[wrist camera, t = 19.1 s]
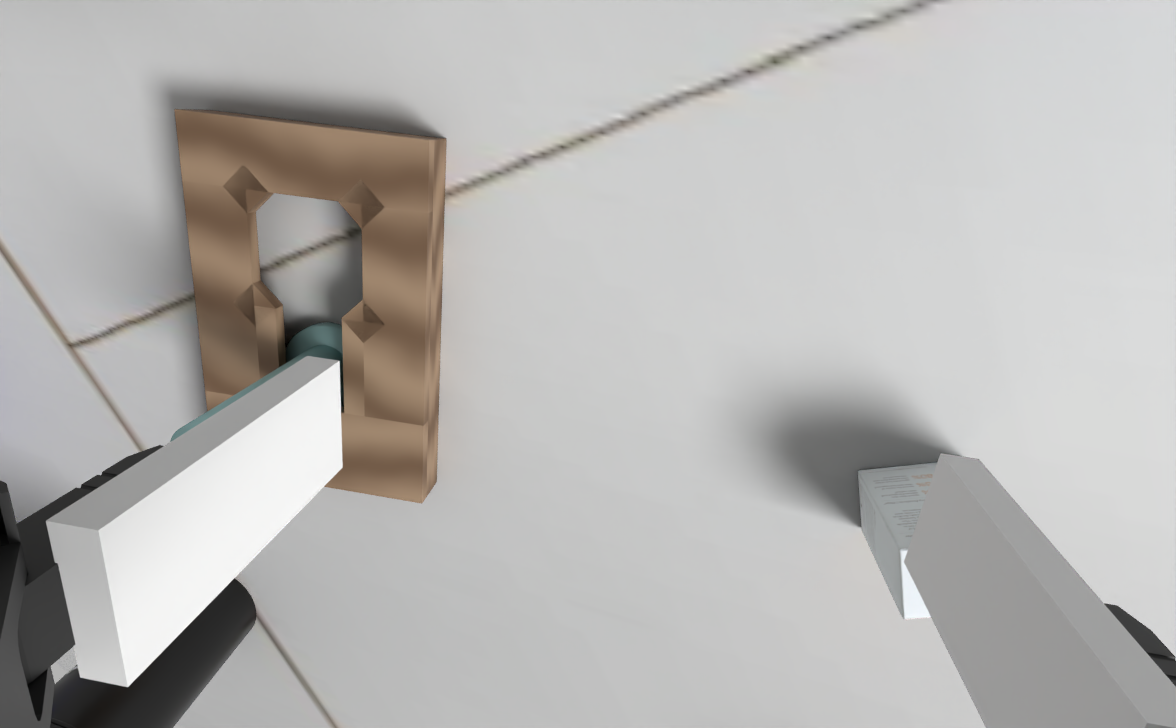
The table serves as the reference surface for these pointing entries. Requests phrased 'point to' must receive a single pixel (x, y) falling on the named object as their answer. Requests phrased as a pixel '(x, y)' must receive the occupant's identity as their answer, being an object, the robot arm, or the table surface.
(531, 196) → the table surface
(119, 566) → the robot arm
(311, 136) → the keyhole board
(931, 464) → the small box
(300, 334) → the peg
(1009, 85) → the table surface
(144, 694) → the water bottle
